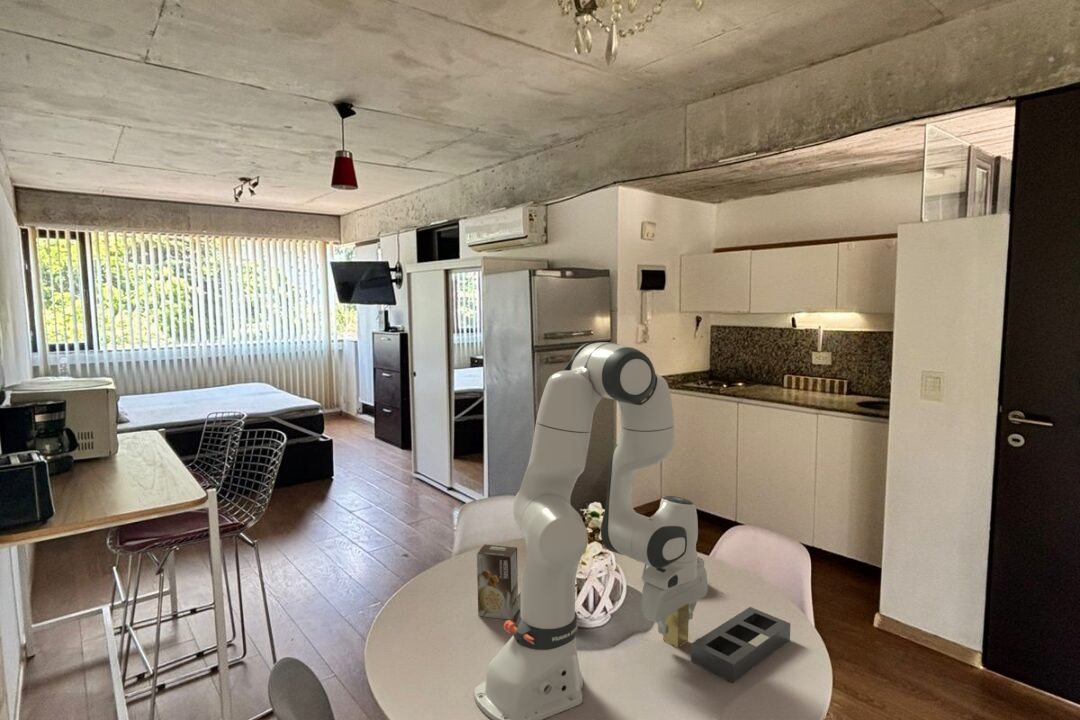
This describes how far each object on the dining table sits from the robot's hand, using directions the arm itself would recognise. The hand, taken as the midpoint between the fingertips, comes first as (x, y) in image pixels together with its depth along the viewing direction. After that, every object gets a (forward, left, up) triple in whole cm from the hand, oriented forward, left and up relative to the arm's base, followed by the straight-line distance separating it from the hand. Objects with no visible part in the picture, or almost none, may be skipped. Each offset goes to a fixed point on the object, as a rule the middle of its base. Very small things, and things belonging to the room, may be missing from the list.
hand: (675, 625), depth 134 cm
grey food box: (-23, +37, -4) cm, 44 cm away
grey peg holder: (+8, -12, -4) cm, 15 cm away
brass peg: (0, 0, -4) cm, 4 cm away
